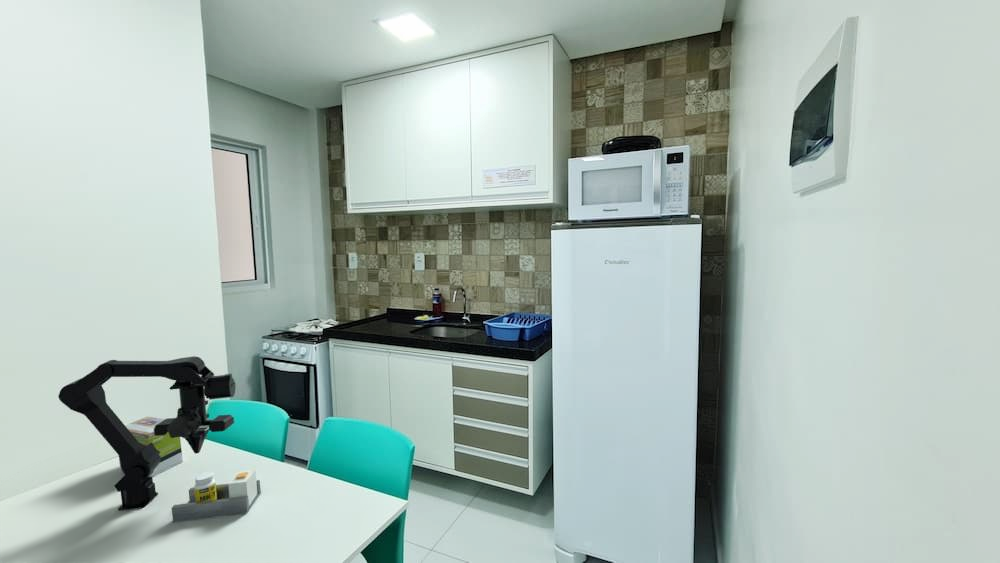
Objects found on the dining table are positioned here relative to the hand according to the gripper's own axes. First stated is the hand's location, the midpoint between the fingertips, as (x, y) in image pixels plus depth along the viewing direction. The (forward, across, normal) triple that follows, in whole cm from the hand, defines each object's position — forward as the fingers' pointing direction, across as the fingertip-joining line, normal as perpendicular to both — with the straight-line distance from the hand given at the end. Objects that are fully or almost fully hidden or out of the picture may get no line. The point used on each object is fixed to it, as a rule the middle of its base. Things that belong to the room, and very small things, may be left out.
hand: (197, 452), depth 120 cm
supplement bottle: (+11, +7, -9) cm, 16 cm away
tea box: (+12, -24, +18) cm, 33 cm away
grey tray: (+12, +10, -9) cm, 18 cm away
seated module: (+12, +16, -9) cm, 22 cm away
